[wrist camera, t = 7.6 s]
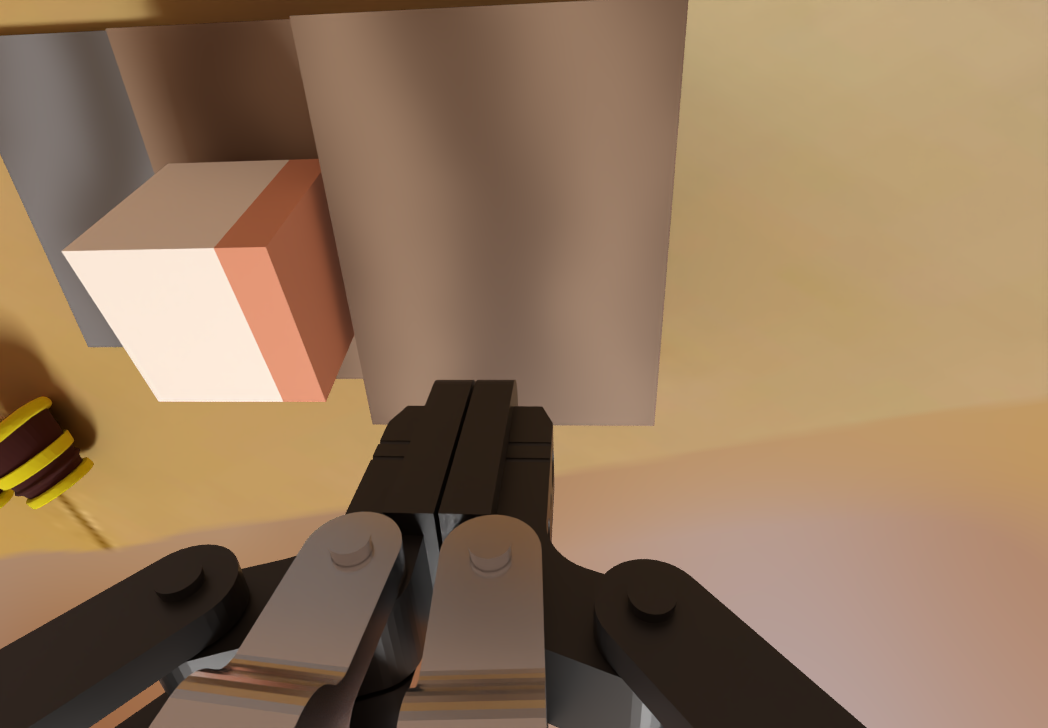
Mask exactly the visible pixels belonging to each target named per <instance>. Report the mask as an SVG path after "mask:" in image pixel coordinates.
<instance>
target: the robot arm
mask: <svg viewBox="0 0 1048 728" xmlns="http://www.w3.org/2000/svg"><path fill="white" fill-rule="evenodd" d="M553 503H554V452H553V423H552V421H551V419H550V418H549V416H548V415H547V413H546V411H545V410H544V408H543V406H518V394H517V383H516V380H476V381H475V380H435V382H434V384H433V386H432V389H431V391H430V394H429V396H428V399H427V401H426V404H425V406H407V407H405V408H404V409H403V410H402V411H401V412H400V413H399V414H397V415H396V416H395V417H394V418H393V419H392V420H390V421H389V423H388V425H387V427H386V429H385V431H384V434H383V436H382V438H381V440H380V444H378V446H377V448H376V450H375V453H374V455H373V460H371V461H370V463H369V465H368V467H367V469H366V472H365V474H364V476H363V478H362V480H361V482H360V484H359V486H358V489H357V491H356V493H355V495H354V497H353V499H352V501H351V503H350V505H349V508H348V510H347V512H346V514H345V515H342V516H339V517H337V518H335V519H332V520H330V521H328V522H327V523H325V524H323V525H322V526H321V527H319V528H318V529H317V530H316V531H314V532H313V533H312V534H311V535H310V537H309V538H308V539H307V541H306V542H305V544H304V545H303V547H302V548H301V550H300V551H299V553H298V555H297V556H294V557H291V558H287V559H283V560H279V561H275V562H270V563H267V564H262V565H257V566H253V567H248V568H244V569H241V568H240V565H239V562H238V560H237V558H236V556H235V555H234V554H233V552H231V551H230V550H229V549H227V548H225V547H222V546H218V545H198V546H192V547H188V548H185V549H181V550H179V551H176V552H174V553H171V554H169V555H167V556H166V557H164V558H162V559H160V560H159V561H156V562H155V563H153V564H151V565H149V566H147V567H146V568H144V569H142V570H140V571H139V572H137V573H135V574H133V575H132V576H130V577H128V578H126V579H125V580H123V581H121V582H119V583H117V584H115V585H114V586H112V587H110V588H108V589H107V590H105V591H103V592H101V593H99V594H98V595H96V596H94V597H92V598H91V599H89V600H87V601H85V602H84V603H82V604H80V605H78V606H76V607H75V608H73V609H71V610H69V611H68V612H66V613H64V614H62V615H60V616H59V617H57V618H55V619H53V620H52V621H50V622H48V623H46V624H44V625H43V626H41V627H39V628H37V629H36V630H34V631H32V632H30V633H28V634H27V635H25V636H23V637H21V638H19V639H18V640H16V641H14V642H12V643H11V644H9V645H7V646H5V647H4V648H2V649H0V728H89V727H91V726H92V725H93V724H95V723H97V722H98V721H99V720H101V719H102V718H104V717H105V716H107V715H108V714H110V713H111V712H113V711H114V710H116V709H117V708H119V707H120V706H122V705H123V704H124V703H126V702H128V701H129V700H130V699H132V698H133V697H135V696H136V695H138V694H139V693H141V692H142V691H144V690H145V689H146V688H147V687H150V686H151V685H152V684H154V683H155V682H157V681H158V680H159V681H160V683H161V685H162V687H163V688H164V690H165V693H163V694H162V695H161V696H159V697H158V698H156V699H155V700H153V701H152V702H151V703H149V704H148V705H146V706H145V707H144V708H142V709H141V710H139V711H138V712H136V713H135V714H133V715H132V716H131V717H129V718H128V719H126V720H125V721H123V722H122V723H120V724H119V725H118V726H116V727H115V728H548V723H549V724H551V725H554V726H556V727H558V728H866V727H865V726H864V725H863V724H862V723H861V722H859V721H858V720H857V719H856V718H855V717H854V716H852V715H851V714H850V713H849V712H848V711H847V710H845V709H844V708H843V707H842V706H841V705H840V704H838V703H837V702H836V701H835V700H834V699H833V698H832V697H830V696H829V695H828V694H827V693H826V692H825V691H823V690H822V689H821V688H820V687H819V686H818V685H816V684H815V683H814V682H813V681H812V680H811V679H809V678H808V677H807V676H806V675H805V674H804V673H802V672H801V671H800V670H799V669H798V668H797V667H796V666H794V665H793V664H792V663H791V662H790V661H789V660H787V659H786V658H785V657H784V656H783V655H782V654H780V653H779V652H778V651H777V650H776V649H775V648H773V647H772V646H771V645H770V644H769V643H768V642H767V641H765V640H764V639H763V638H762V637H761V636H759V635H758V634H757V633H756V632H755V631H754V630H753V629H751V628H750V627H749V626H748V625H747V624H746V623H744V622H743V621H742V620H741V619H740V618H739V617H737V616H736V615H735V614H734V613H733V612H732V611H731V610H729V609H728V608H727V607H726V606H725V605H724V604H722V603H721V602H720V601H719V600H718V599H717V598H715V597H714V596H713V595H712V594H711V593H710V592H708V591H707V590H706V589H705V588H704V587H703V586H701V585H700V584H699V583H698V582H697V581H696V580H694V579H693V578H692V577H691V576H690V575H688V574H687V573H686V572H684V571H683V570H681V569H679V568H677V567H676V566H673V565H671V564H668V563H665V562H661V561H657V560H649V559H637V560H631V561H627V562H623V563H621V564H619V565H617V566H614V567H613V568H611V569H610V570H609V571H607V572H606V573H605V574H602V573H599V572H596V571H593V570H589V569H586V568H583V567H581V566H579V565H576V564H574V563H573V562H571V561H569V560H568V559H566V558H565V557H563V556H562V555H561V554H560V553H559V552H558V551H557V550H556V549H555V547H554V546H553V544H552V522H553Z"/></svg>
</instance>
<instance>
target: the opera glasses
mask: <svg viewBox="0 0 1048 728" xmlns="http://www.w3.org/2000/svg"><path fill="white" fill-rule="evenodd" d="M51 405H52V402H51V400H50V399H49V398H47V397H38V398H36V399H34V400H32V401H30V402H28V403H27V404H25V405H23V406H22V407H20V408H18V409H17V410H16V411H14V412H13V413H12V414H11V415H9V416H8V417H7V418H6V419H4V420H3V421H2V422H1V423H0V508H1V507H3V506H4V505H5V504H6V503H7V502H8V501H9V500H10V499H11V498H12V496H13V494H14V491H15V496H25V497H26V498H28V499H27V501H26V504H27V505H28V506H30V507H31V508H32V509H37V508H40V507H42V506H43V505H45V504H47V503H49V502H50V501H52V500H53V499H55V498H56V497H58V496H59V495H61V494H62V493H63V492H65V491H66V490H67V489H69V488H70V487H71V486H73V485H74V484H75V483H76V482H78V481H79V480H80V479H81V478H82V477H83V476H84V475H85V474H86V473H87V472H89V470H90V469H91V468H92V467H93V465H94V463H93V462H92V461H91V460H90V459H89V458H87V457H85V458H81V457H80V455H79V453H80V449H79V448H74V447H73V445H72V443H73V442H74V439H73V437H72V436H71V434H70V433H69V431H68V430H62V429H61V428H60V426H59V425H58V423H57V422H56V420H55V419H54V417H53V416H52V414H51V413H50V412H49V410H48V409H49V408H50V406H51Z"/></svg>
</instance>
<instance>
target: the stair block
mask: <svg viewBox="0 0 1048 728" xmlns="http://www.w3.org/2000/svg"><path fill="white" fill-rule="evenodd" d="M687 10H688V0H589V1H570V2H550V3H531V4H511V5H492V6H472V7H453V8H433V9H414V10H394V11H375V12H356V13H336V14H317V15H297V16H289V17H290V19H281V20H262V21H242V22H222V23H203V24H183V25H163V26H144V27H124V28H105V29H106V31H87V32H67V33H47V34H27V35H7V36H0V154H1V157H2V159H3V161H4V163H5V165H6V168H7V170H8V172H9V174H10V176H11V179H12V181H13V183H14V185H15V187H16V190H17V192H18V194H19V196H20V198H21V200H22V203H23V205H24V207H25V209H26V211H27V214H28V216H29V218H30V220H31V222H32V225H33V227H34V229H35V231H36V233H37V236H38V238H39V240H40V242H41V244H42V247H43V249H44V251H45V253H46V255H47V258H48V260H49V262H50V264H51V266H52V269H53V271H54V273H55V275H56V277H57V279H58V282H59V284H60V286H61V288H62V290H63V293H64V295H65V297H66V299H67V301H68V304H69V306H70V308H71V310H72V312H73V315H74V317H75V319H76V321H77V323H78V326H79V328H80V330H81V332H82V334H83V337H84V339H85V341H86V343H87V345H88V347H123V346H122V344H121V342H120V341H119V339H118V338H117V336H116V335H115V333H114V332H113V330H112V329H111V327H110V325H109V324H108V322H107V321H106V319H105V318H104V316H103V315H102V313H101V312H100V310H99V309H98V307H97V305H96V304H95V302H94V301H93V299H92V298H91V296H90V295H89V293H88V292H87V290H86V289H85V287H84V285H83V284H82V282H81V281H80V279H79V278H78V276H77V275H76V273H75V272H74V270H73V268H72V267H71V265H70V264H69V262H68V261H67V259H66V258H65V256H64V255H63V253H62V252H61V251H62V250H63V249H65V248H66V247H67V246H68V245H69V244H71V243H72V242H73V241H74V240H76V239H77V238H78V237H79V236H80V235H82V234H83V233H84V232H85V231H87V230H88V229H89V228H90V227H91V226H93V225H94V224H95V223H96V222H97V221H99V220H100V219H101V218H102V217H104V216H105V215H106V214H107V213H108V212H110V211H111V210H112V209H113V208H115V207H116V206H117V205H118V204H119V203H121V202H122V201H123V200H124V199H125V198H127V197H128V196H129V195H130V194H132V193H133V192H134V191H135V190H136V189H138V188H139V187H140V186H141V185H143V184H144V183H145V182H146V181H147V180H149V179H150V178H151V177H152V176H153V175H155V174H156V173H157V172H158V171H160V170H161V169H162V168H163V167H164V166H166V165H167V164H173V163H204V162H235V161H266V160H297V159H319V163H320V168H321V173H322V178H323V183H324V188H325V193H326V198H327V203H328V208H329V212H330V217H331V222H332V227H333V232H334V237H335V242H336V247H337V252H338V257H339V261H340V266H341V271H342V276H343V281H344V286H345V291H346V296H347V301H348V306H349V310H350V315H351V320H352V325H353V330H354V337H353V339H352V342H351V344H350V346H349V349H348V351H347V353H346V356H345V358H344V360H343V363H342V365H341V367H340V370H339V372H338V374H337V377H336V379H364V384H365V389H366V394H367V399H368V404H369V408H370V413H371V418H372V423H373V424H388V423H389V421H390V420H392V419H393V418H394V417H395V416H396V415H397V414H399V413H400V412H401V411H402V410H403V409H404V408H405V407H407V406H425V404H426V401H427V399H428V396H429V394H430V391H431V389H432V386H433V384H434V382H435V380H475V381H476V380H516V383H517V394H518V406H543V408H544V410H545V411H546V413H547V415H548V416H549V418H550V419H551V421H552V423H553V425H600V426H654V422H655V410H656V397H657V385H658V372H659V360H660V347H661V335H662V322H663V310H664V297H665V285H666V272H667V260H668V248H669V235H670V223H671V210H672V198H673V185H674V173H675V160H676V148H677V135H678V123H679V110H680V98H681V85H682V73H683V60H684V48H685V35H686V23H687Z"/></svg>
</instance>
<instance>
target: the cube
mask: <svg viewBox="0 0 1048 728" xmlns="http://www.w3.org/2000/svg"><path fill="white" fill-rule="evenodd" d="M61 252H62V253H63V255H64V256H65V258H66V259H67V261H68V262H69V264H70V265H71V267H72V268H73V270H74V272H75V273H76V275H77V276H78V278H79V279H80V281H81V282H82V284H83V285H84V287H85V289H86V290H87V292H88V293H89V295H90V296H91V298H92V299H93V301H94V302H95V304H96V305H97V307H98V309H99V310H100V312H101V313H102V315H103V316H104V318H105V319H106V321H107V322H108V324H109V325H110V327H111V329H112V330H113V332H114V333H115V335H116V336H117V338H118V339H119V341H120V342H121V344H122V346H123V347H124V349H125V350H126V352H127V353H128V355H129V356H130V358H131V359H132V361H133V362H134V364H135V366H136V367H137V369H138V370H139V372H140V373H141V375H142V376H143V378H144V379H145V381H146V382H147V384H148V386H149V387H150V389H151V390H152V392H153V393H154V395H155V396H156V398H157V399H158V401H186V402H326V400H327V398H328V395H329V393H330V391H331V388H332V386H333V384H334V381H335V379H336V377H337V374H338V372H339V370H340V367H341V365H342V363H343V360H344V358H345V356H346V353H347V351H348V349H349V346H350V344H351V342H352V339H353V337H354V330H353V325H352V320H351V315H350V310H349V306H348V301H347V296H346V291H345V286H344V281H343V276H342V271H341V266H340V261H339V257H338V252H337V247H336V242H335V237H334V232H333V227H332V222H331V217H330V212H329V208H328V203H327V198H326V193H325V188H324V183H323V178H322V173H321V168H320V163H319V159H297V160H266V161H235V162H204V163H173V164H167V165H166V166H164V167H163V168H162V169H161V170H160V171H158V172H157V173H156V174H155V175H153V176H152V177H151V178H150V179H149V180H147V181H146V182H145V183H144V184H143V185H141V186H140V187H139V188H138V189H136V190H135V191H134V192H133V193H132V194H130V195H129V196H128V197H127V198H125V199H124V200H123V201H122V202H121V203H119V204H118V205H117V206H116V207H115V208H113V209H112V210H111V211H110V212H108V213H107V214H106V215H105V216H104V217H102V218H101V219H100V220H99V221H97V222H96V223H95V224H94V225H93V226H91V227H90V228H89V229H88V230H87V231H85V232H84V233H83V234H82V235H80V236H79V237H78V238H77V239H76V240H74V241H73V242H72V243H71V244H69V245H68V246H67V247H66V248H65V249H63V250H62V251H61Z"/></svg>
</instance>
